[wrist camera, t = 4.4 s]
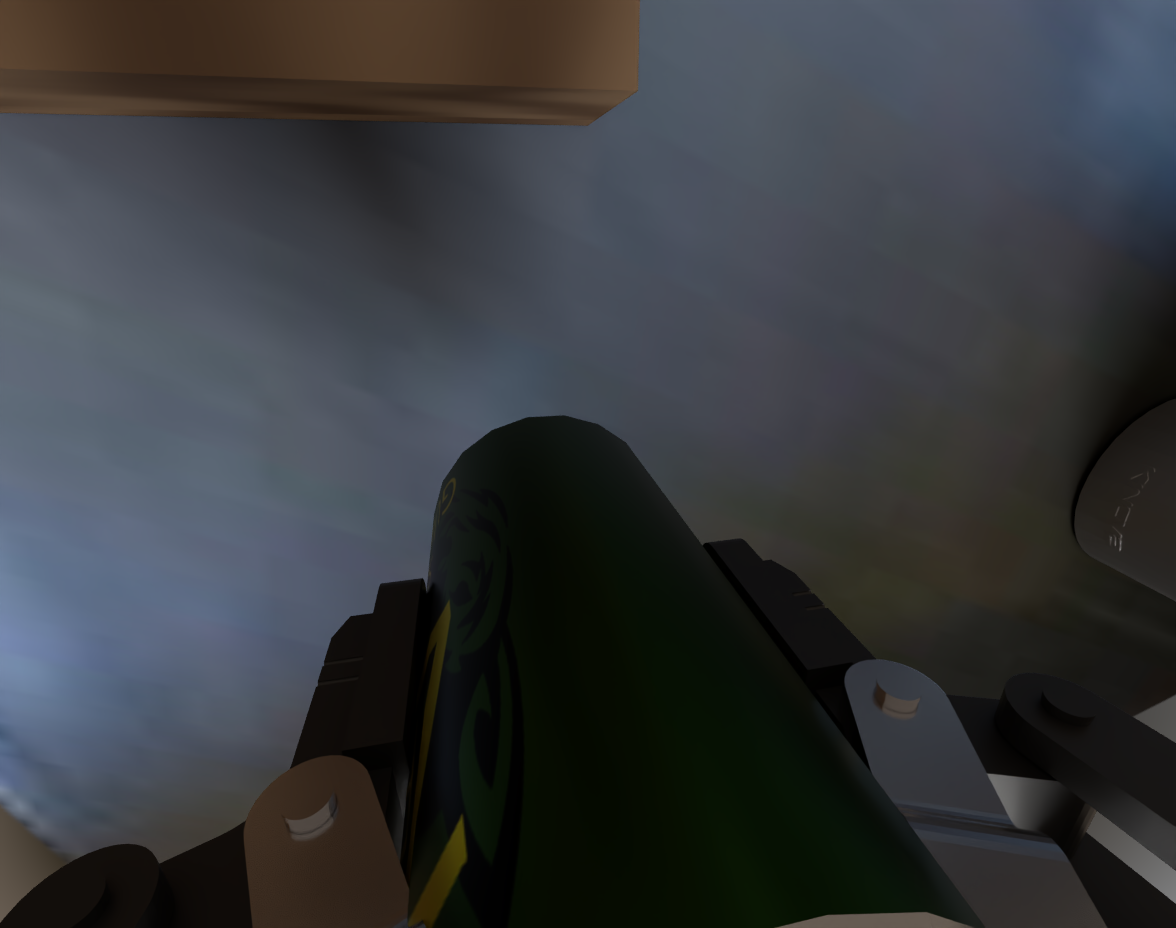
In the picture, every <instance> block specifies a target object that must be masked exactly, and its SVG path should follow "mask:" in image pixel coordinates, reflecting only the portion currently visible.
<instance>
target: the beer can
mask: <svg viewBox="0 0 1176 928" xmlns="http://www.w3.org/2000/svg"><path fill="white" fill-rule="evenodd" d="M400 865H401V867H402V870H403V873H404V876H405V879H406V882H407V885H408V888H409V899H408V914H407V923H408V926H409V927H410V926H412V925H414V924H415V923H417V922H418V921H420V920H421V919H422V920H423V922H424V924H425V926H426V928H986V927H985V926H984V924H983V923H982V922H981V920H980V919H979V918H978V916H977V915H976V914H975V912H974V911H973V910H972V908H971V907H970V905H969V904H968V903H967V901H966V900H965V899H964V897H963V896H962V895H961V893H960V892H959V891H958V889H957V888H956V887H955V885H954V884H953V883H952V881H951V880H950V879H949V877H948V876H947V874H946V873H945V872H944V870H943V869H942V868H941V866H940V865H939V864H938V862H937V861H936V860H935V858H934V857H933V856H932V854H931V853H930V852H929V850H928V849H927V848H926V846H925V845H924V844H923V842H922V841H921V839H920V838H919V837H918V835H917V834H916V833H915V831H914V830H913V829H912V827H911V826H910V825H909V823H908V822H907V821H906V819H905V818H904V817H903V815H902V814H901V813H900V811H899V810H898V808H897V807H896V806H895V804H894V803H893V802H892V800H891V799H890V798H889V796H888V795H887V794H886V792H885V791H884V790H883V788H882V787H881V786H880V784H879V783H878V781H877V780H876V779H875V777H874V776H873V775H872V773H871V772H870V771H869V769H868V768H867V767H866V765H865V764H864V763H863V761H862V760H861V759H860V757H859V756H858V755H857V753H856V752H855V750H854V749H853V748H852V746H851V745H850V744H849V742H848V741H847V740H846V738H845V737H844V736H843V734H842V733H841V732H840V730H839V729H838V728H837V726H836V725H835V724H834V722H833V721H832V720H831V718H830V717H829V715H828V714H827V713H826V711H825V710H824V709H823V707H822V706H821V705H820V703H819V702H818V701H817V699H816V698H815V697H814V695H813V694H812V693H811V691H810V690H809V689H808V687H807V686H806V685H805V683H804V682H803V680H802V679H801V678H800V676H799V675H798V674H797V672H796V671H795V670H794V668H793V667H792V666H791V664H790V663H789V662H788V660H787V659H786V658H785V656H784V655H783V654H782V652H781V651H780V649H779V648H778V647H777V645H776V644H775V643H774V641H773V640H772V639H771V637H770V636H769V635H768V633H767V632H766V631H765V629H764V628H763V627H762V625H761V624H760V623H759V621H758V620H757V619H756V617H755V616H754V614H753V613H752V612H751V610H750V609H749V608H748V606H747V605H746V604H745V602H744V601H743V600H742V598H741V597H740V596H739V594H738V593H737V592H736V590H735V589H734V588H733V586H732V585H731V583H730V582H729V581H728V579H727V578H726V577H725V575H724V574H723V573H722V571H721V570H720V569H719V567H718V566H717V565H716V563H715V562H714V561H713V559H712V558H711V557H710V555H709V554H708V553H707V551H706V550H705V548H704V547H703V546H702V544H701V543H700V542H699V540H698V539H697V538H696V536H695V535H694V534H693V532H692V531H691V530H690V528H689V527H688V526H687V524H686V523H685V522H684V520H683V519H682V518H681V516H680V515H679V513H678V512H677V511H676V509H675V508H674V507H673V505H672V504H671V503H670V501H669V500H668V499H667V497H666V496H665V495H664V493H663V492H662V491H661V489H660V488H659V487H658V485H657V484H656V482H655V481H654V480H653V478H652V477H651V476H650V474H649V473H648V472H647V470H646V469H645V468H644V466H643V465H642V464H641V462H640V461H639V460H638V458H637V457H636V456H635V454H634V453H633V452H632V450H631V449H630V448H629V446H628V445H627V443H626V442H624V441H623V440H621V439H620V438H618V437H617V436H615V435H614V434H612V433H611V432H609V431H608V430H606V429H605V428H603V427H602V426H600V425H598V424H595V423H591V422H587V421H584V420H580V419H576V418H572V417H568V416H564V415H563V416H544V417H527V418H524V419H521V420H519V421H516V422H513V423H510V424H508V425H505V426H502V427H499V428H497V429H494V430H492V431H490V432H489V433H488V434H486V435H485V436H484V437H482V438H481V439H480V440H478V441H477V442H476V443H475V444H473V445H472V446H471V447H469V448H468V449H467V450H465V451H464V452H463V453H462V454H461V456H460V457H459V459H458V460H457V462H456V463H455V464H454V466H453V467H452V469H451V470H450V472H449V473H448V475H447V476H446V478H445V479H444V480H443V482H442V486H441V490H440V494H439V498H438V501H437V505H436V509H435V513H434V521H433V532H432V542H431V552H430V562H429V572H428V582H427V596H426V606H425V617H424V627H423V637H422V648H421V658H420V668H419V679H418V689H417V699H416V710H415V720H414V730H413V740H412V751H411V761H410V771H409V776H408V785H407V795H406V805H405V815H404V825H403V835H402V845H401V856H400Z"/></svg>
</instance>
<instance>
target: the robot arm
mask: <svg viewBox="0 0 1176 928" xmlns="http://www.w3.org/2000/svg"><path fill="white" fill-rule="evenodd" d="M1074 527H1075V533H1076V539H1077V541H1078V543H1079V545H1080V546H1081V548H1082V549H1083V550H1084V551H1085V552H1086V553H1087V554H1088V555H1089V556H1091V557H1093V558H1095V559H1097V560H1098V561H1100V562H1102V563H1104V564H1106V565H1108V566H1110V567H1112V568H1114V569H1116V570H1117V571H1119V572H1121V573H1123V574H1125V575H1127V576H1129V577H1131V578H1133V579H1135V580H1136V581H1138V582H1140V583H1142V584H1144V585H1146V586H1148V587H1150V588H1152V589H1154V590H1156V591H1157V592H1159V593H1161V594H1163V595H1165V596H1167V597H1169V598H1171V599H1173V600H1174V601H1176V399H1173V400H1170V401H1167V402H1165V403H1163V404H1161V405H1159V406H1158V407H1156V408H1154V409H1152V410H1150V411H1149V412H1147V413H1146V414H1144V415H1143V416H1142V417H1140V418H1139V419H1137V420H1136V421H1135V422H1133V423H1132V424H1131V425H1130V426H1129V427H1128V428H1127V429H1125V430H1124V431H1123V432H1122V433H1121V434H1120V435H1119V436H1118V437H1117V438H1116V439H1115V440H1114V441H1113V442H1112V444H1111V445H1110V446H1109V447H1108V448H1107V450H1106V451H1105V452H1104V453H1103V454H1102V456H1101V457H1100V458H1099V460H1098V461H1097V463H1096V465H1095V466H1094V468H1093V469H1092V471H1091V472H1090V474H1089V476H1088V478H1087V480H1086V482H1085V484H1084V486H1083V488H1082V491H1081V493H1080V496H1079V500H1078V503H1077V506H1076V510H1075V521H1074ZM703 547H704V548H705V550H706V551H707V553H708V554H709V555H710V557H711V558H712V559H713V561H714V562H715V563H716V565H717V566H718V567H719V569H720V570H721V571H722V573H723V574H724V575H725V577H726V578H727V579H728V581H729V582H730V583H731V585H732V586H733V588H734V589H735V590H736V592H737V593H738V594H739V596H740V597H741V598H742V600H743V601H744V602H745V604H746V605H747V606H748V608H749V609H750V610H751V612H752V613H753V614H754V616H755V617H756V619H757V620H758V621H759V623H760V624H761V625H762V627H763V628H764V629H765V631H766V632H767V633H768V635H769V636H770V637H771V639H772V640H773V641H774V643H775V644H776V645H777V647H778V648H779V649H780V651H781V652H782V654H783V655H784V656H785V658H786V659H787V660H788V662H789V663H790V664H791V666H792V667H793V668H794V670H795V671H796V672H797V674H798V675H799V676H800V678H801V679H802V680H803V682H804V683H805V685H806V686H807V687H808V689H809V690H810V691H811V693H812V694H813V695H814V697H815V698H816V699H817V701H818V702H819V703H820V705H821V706H822V707H823V709H824V710H825V711H826V713H827V714H828V715H829V717H830V718H831V720H832V721H833V722H834V724H835V725H836V726H837V728H838V729H839V730H840V732H841V733H842V734H843V736H844V737H845V738H846V740H847V741H848V742H849V744H850V745H851V746H852V748H853V749H854V750H855V752H856V753H857V755H858V756H859V757H860V759H861V760H862V761H863V763H864V764H865V765H866V767H867V768H868V769H869V771H870V772H871V773H872V775H873V776H874V777H875V779H876V780H877V781H878V783H879V784H880V786H881V787H882V788H883V790H884V791H885V792H886V794H887V795H888V796H889V798H890V799H891V800H892V802H893V803H894V804H895V806H896V807H897V808H898V810H899V811H900V813H901V814H902V815H903V817H904V818H905V819H906V821H907V822H908V823H909V825H910V826H911V827H912V829H913V830H914V831H915V833H916V834H917V835H918V837H919V838H920V839H921V841H922V842H923V844H924V845H925V846H926V848H927V849H928V850H929V852H930V853H931V854H932V856H933V857H934V858H935V860H936V861H937V862H938V864H939V865H940V866H941V868H942V869H943V870H944V872H945V873H946V874H947V876H948V877H949V879H950V880H951V881H952V883H953V884H954V885H955V887H956V888H957V889H958V891H959V892H960V893H961V895H962V896H963V897H964V899H965V900H966V901H967V903H968V904H969V905H970V907H971V908H972V910H973V911H974V912H975V914H976V915H977V916H978V918H979V919H980V920H981V922H982V923H983V924H984V926H985V927H986V928H1176V904H1175V903H1174V902H1173V901H1171V900H1170V899H1169V898H1168V897H1167V896H1165V895H1164V894H1163V893H1162V892H1160V891H1159V890H1158V889H1157V888H1155V887H1154V886H1153V885H1151V884H1150V883H1149V882H1148V881H1147V880H1145V879H1144V878H1143V877H1142V876H1140V875H1139V874H1138V873H1137V872H1135V871H1134V870H1133V869H1132V868H1130V867H1129V866H1128V865H1126V864H1125V863H1124V862H1123V861H1122V860H1120V859H1119V858H1118V857H1116V856H1115V855H1114V854H1113V853H1111V852H1110V851H1109V850H1108V849H1106V848H1105V847H1104V846H1103V845H1101V844H1100V843H1099V842H1098V841H1096V840H1095V839H1094V838H1093V837H1091V836H1090V835H1089V834H1088V833H1086V831H1087V829H1088V827H1089V825H1090V823H1091V821H1092V819H1093V817H1094V815H1095V814H1096V812H1097V811H1098V812H1099V813H1100V814H1102V815H1103V816H1104V817H1106V818H1107V819H1109V820H1110V821H1111V822H1112V823H1114V824H1115V825H1116V826H1118V827H1119V828H1120V829H1122V830H1123V831H1124V832H1126V833H1127V834H1128V835H1129V836H1131V837H1132V838H1134V839H1135V840H1136V841H1137V842H1139V843H1140V844H1141V845H1143V846H1144V847H1145V848H1147V849H1148V850H1149V851H1151V852H1152V853H1153V854H1155V855H1156V856H1157V857H1159V858H1160V859H1161V860H1162V861H1164V862H1165V863H1166V864H1168V865H1169V866H1170V867H1172V868H1173V869H1174V870H1176V743H1175V742H1173V741H1171V740H1170V739H1168V738H1167V737H1165V736H1163V735H1162V734H1160V733H1158V732H1157V731H1155V730H1154V729H1152V728H1150V727H1148V726H1147V725H1145V724H1143V723H1142V722H1140V721H1139V720H1137V719H1135V718H1134V717H1132V716H1131V715H1129V714H1127V713H1126V712H1124V711H1122V710H1121V709H1119V708H1117V707H1116V706H1114V705H1112V704H1111V703H1109V702H1108V701H1106V700H1104V699H1103V698H1101V697H1099V696H1098V695H1096V694H1094V693H1093V692H1091V691H1089V690H1087V689H1085V688H1083V687H1081V686H1079V685H1077V684H1075V683H1072V682H1070V681H1067V680H1064V679H1061V678H1058V677H1055V676H1050V675H1046V674H1038V673H1023V674H1018V675H1015V676H1013V677H1011V678H1010V679H1009V680H1008V681H1007V682H1006V685H1005V687H1004V690H1003V693H1002V696H1001V698H1000V700H997V699H987V698H976V697H965V696H955V695H946V694H945V693H944V692H943V691H942V689H941V688H940V687H939V686H938V685H937V684H935V683H934V682H933V681H932V680H931V679H929V678H928V677H926V676H925V675H923V674H922V673H920V672H918V671H916V670H914V669H912V668H910V667H908V666H905V665H902V664H899V663H895V662H892V661H886V660H877V659H876V658H875V657H874V656H873V655H872V654H871V653H870V652H869V651H868V650H867V649H866V648H865V647H864V646H863V645H862V644H861V643H860V641H859V640H858V639H857V638H856V637H855V636H854V635H853V634H852V633H851V632H850V631H849V630H848V629H847V628H846V627H845V626H844V625H843V624H842V623H841V621H840V620H839V619H838V618H837V617H836V616H835V615H834V614H833V613H832V612H831V611H830V610H829V609H828V608H825V607H824V604H823V603H822V601H821V600H820V599H819V598H818V597H817V596H816V595H815V594H811V590H810V589H809V588H808V587H807V586H806V585H805V584H804V583H803V581H802V580H801V579H800V578H799V577H798V576H797V575H796V574H795V573H794V572H792V571H790V570H788V569H786V568H785V567H783V566H781V565H779V564H778V563H776V562H774V561H772V560H765V561H763V560H762V559H761V558H760V557H759V556H758V555H757V554H756V552H755V551H754V550H753V549H752V548H751V547H750V546H749V545H748V543H747V542H746V541H745V540H743V539H732V540H724V541H716V542H709V543H705V544H703ZM426 596H427V592H426V586H425V582H424V579H423V578H421V579H413V580H405V581H398V582H390V583H382V584H380V586H379V590H378V594H377V599H376V603H375V607H374V612H373V613H371V614H364V615H356V616H350V617H349V619H348V620H347V621H346V622H345V623H344V624H343V625H342V627H341V628H340V629H339V630H338V631H337V632H336V633H335V635H334V636H333V637H332V638H331V641H330V644H329V648H328V651H327V654H326V657H325V660H324V666H323V667H322V670H321V673H320V676H319V679H318V687H316V689H315V692H314V695H313V698H312V701H311V705H310V708H309V711H308V714H307V717H306V720H305V724H304V727H303V730H302V733H301V736H300V739H299V743H298V746H297V749H296V752H295V755H294V758H293V762H292V765H291V767H290V770H288V771H287V772H285V773H284V774H282V775H281V776H279V777H278V778H277V779H276V780H275V781H273V782H272V783H271V784H270V785H269V786H268V787H267V788H266V789H265V790H264V791H263V792H262V794H261V795H260V796H259V798H258V799H257V800H256V802H255V803H254V805H253V807H252V808H251V810H250V812H249V815H248V817H247V819H246V821H245V822H243V823H242V824H240V825H238V826H237V827H235V828H234V829H232V830H230V831H228V832H226V833H224V834H222V835H220V836H218V837H216V838H214V839H212V840H210V841H208V842H205V843H203V844H201V845H199V846H197V847H195V848H192V849H190V850H188V851H186V852H184V853H182V854H179V855H177V856H175V857H173V858H171V859H169V860H166V861H164V862H162V863H160V864H159V863H158V861H157V859H156V857H155V856H154V854H153V853H152V852H151V851H150V850H148V849H147V848H146V847H143V846H140V845H135V844H120V845H113V846H109V847H105V848H102V849H99V850H96V851H93V852H91V853H88V854H86V855H84V856H82V857H80V858H78V859H75V860H74V861H72V862H70V863H69V864H67V865H65V866H63V867H62V868H60V869H59V870H57V871H56V872H54V873H53V874H51V875H50V876H48V877H47V878H46V879H44V880H43V881H42V882H41V883H40V884H38V885H37V886H36V887H34V888H33V889H32V890H31V891H30V892H29V893H28V894H27V895H26V896H25V897H24V898H22V899H21V900H20V901H19V902H18V903H17V905H16V906H15V907H14V908H13V909H12V910H11V911H10V912H9V913H8V914H7V916H6V917H5V918H4V919H3V920H2V922H1V923H0V928H426V926H425V924H424V922H423V920H422V919H421V920H420V921H418V922H417V923H415V924H414V925H412V926H410V927H409V926H408V923H407V914H408V899H409V888H408V885H407V882H406V879H405V876H404V873H403V870H402V867H401V865H400V856H401V845H402V835H403V825H404V815H405V805H406V795H407V785H408V776H409V771H410V761H411V751H412V740H413V730H414V720H415V710H416V699H417V689H418V679H419V668H420V658H421V648H422V637H423V627H424V617H425V606H426Z"/></svg>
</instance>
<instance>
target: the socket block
mask: <svg viewBox="0 0 1176 928" xmlns="http://www.w3.org/2000/svg"><path fill="white" fill-rule="evenodd" d="M639 9H640V0H0V113H34V114H80V115H126V116H171V117H217V118H263V119H308V120H354V121H400V122H445V123H491V124H537V125H582V126H588V125H589V124H591V123H592V122H593V121H595V120H596V119H598V118H599V117H601V116H602V115H604V114H605V113H606V112H608V111H609V110H611V109H612V108H614V107H615V106H617V105H618V104H620V103H621V102H622V101H624V100H625V99H627V98H628V97H630V96H631V95H633V94H634V93H635V92H637V91H638V56H639Z"/></svg>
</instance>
